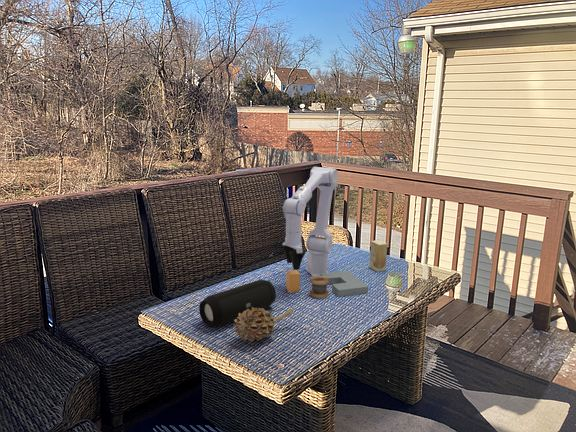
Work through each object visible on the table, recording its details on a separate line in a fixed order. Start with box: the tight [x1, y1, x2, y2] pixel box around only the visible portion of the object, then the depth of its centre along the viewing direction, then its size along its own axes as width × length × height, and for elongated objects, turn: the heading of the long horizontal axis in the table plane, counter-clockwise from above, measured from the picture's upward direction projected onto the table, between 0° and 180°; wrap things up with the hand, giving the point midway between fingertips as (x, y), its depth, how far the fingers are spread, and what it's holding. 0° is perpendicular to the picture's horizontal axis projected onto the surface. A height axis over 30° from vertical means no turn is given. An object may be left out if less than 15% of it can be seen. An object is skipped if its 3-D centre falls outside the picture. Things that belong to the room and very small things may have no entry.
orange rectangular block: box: [285, 269, 301, 293], centre depth 173 cm, size 4×4×7 cm
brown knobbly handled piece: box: [233, 307, 295, 342], centre depth 138 cm, size 22×10×10 cm, turn 134°
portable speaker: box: [198, 279, 277, 327], centre depth 150 cm, size 26×10×10 cm, turn 133°
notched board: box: [320, 270, 369, 297], centre depth 177 cm, size 18×12×2 cm, turn 18°
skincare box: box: [369, 239, 389, 273], centre depth 195 cm, size 6×4×12 cm
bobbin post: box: [309, 276, 330, 299], centre depth 169 cm, size 7×7×6 cm
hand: (293, 265), depth 171 cm, fingers open, 7 cm apart
